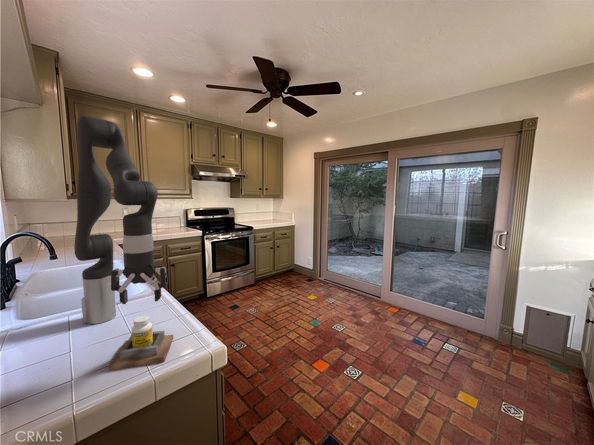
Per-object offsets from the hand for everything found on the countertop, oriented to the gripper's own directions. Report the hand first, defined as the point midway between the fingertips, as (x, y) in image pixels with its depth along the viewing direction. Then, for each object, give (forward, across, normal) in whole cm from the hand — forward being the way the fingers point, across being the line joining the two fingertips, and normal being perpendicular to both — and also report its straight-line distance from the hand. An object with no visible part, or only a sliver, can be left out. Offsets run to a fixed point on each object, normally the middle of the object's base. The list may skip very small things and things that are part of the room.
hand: (141, 301), depth 73 cm
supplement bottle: (+15, 0, 0) cm, 15 cm away
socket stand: (+16, 0, 0) cm, 16 cm away
